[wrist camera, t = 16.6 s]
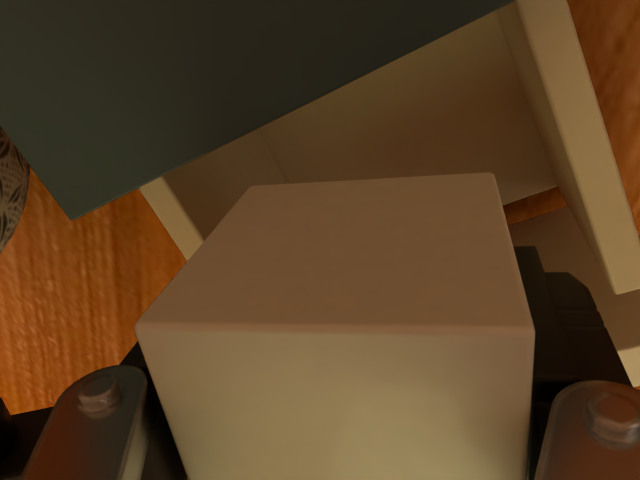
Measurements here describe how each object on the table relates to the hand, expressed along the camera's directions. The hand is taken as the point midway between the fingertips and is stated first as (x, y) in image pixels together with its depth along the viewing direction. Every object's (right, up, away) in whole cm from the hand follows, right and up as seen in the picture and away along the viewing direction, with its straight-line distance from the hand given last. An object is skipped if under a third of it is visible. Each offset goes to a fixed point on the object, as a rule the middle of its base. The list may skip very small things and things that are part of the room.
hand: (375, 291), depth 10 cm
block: (0, 0, 0) cm, 0 cm away
